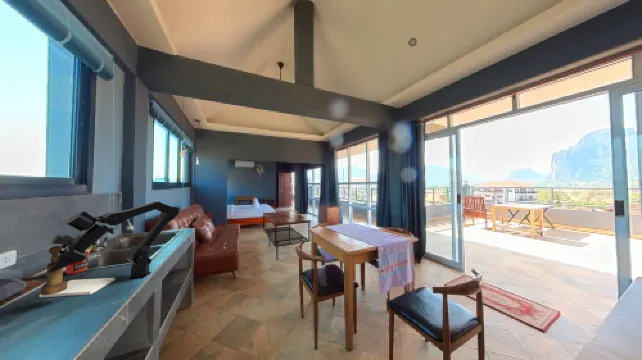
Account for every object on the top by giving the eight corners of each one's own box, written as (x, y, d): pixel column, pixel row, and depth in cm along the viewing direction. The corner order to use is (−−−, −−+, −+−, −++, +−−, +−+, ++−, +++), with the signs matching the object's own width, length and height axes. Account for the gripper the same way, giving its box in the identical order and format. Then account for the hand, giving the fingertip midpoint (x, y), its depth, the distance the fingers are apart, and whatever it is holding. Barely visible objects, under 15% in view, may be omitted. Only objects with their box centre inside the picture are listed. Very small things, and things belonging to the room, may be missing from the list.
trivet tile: (114, 280, 102) (114, 277, 102) (90, 294, 89) (90, 291, 89) (71, 282, 98) (71, 280, 98) (39, 297, 86) (39, 294, 86)
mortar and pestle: (71, 288, 85) (71, 244, 85) (46, 296, 79) (46, 249, 79) (62, 285, 87) (62, 243, 87) (37, 293, 81) (37, 247, 81)
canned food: (75, 275, 106) (76, 253, 106) (60, 274, 106) (61, 253, 107) (92, 268, 114) (92, 248, 114) (78, 268, 114) (78, 248, 114)
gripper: (67, 223, 91) (23, 255, 82) (73, 229, 81) (24, 267, 72) (93, 237, 98) (55, 268, 89) (102, 244, 87) (60, 281, 78)
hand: (49, 270), depth 82 cm, fingers closed on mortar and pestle, 4 cm apart
